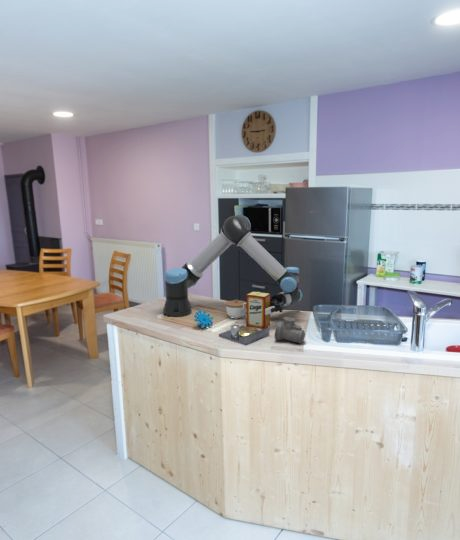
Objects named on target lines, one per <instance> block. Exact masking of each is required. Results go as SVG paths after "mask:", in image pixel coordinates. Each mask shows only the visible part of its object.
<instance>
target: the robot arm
mask: <svg viewBox="0 0 460 540" xmlns="http://www.w3.org/2000/svg"><path fill="white" fill-rule="evenodd" d="M251 227H252V225H251V222H250V220H249V218H248V217H247V216H245V215H242V214H236V215H231V216H229V217H227V219H225V221H224V223H223V226H222V227H220V233H219V234H217V236H216V237H215V238H214V239H213V240H211V242H210V243H209V244H208V245H207V246H206V247H205V248H203V250H202V251H201V252H200V253H199V254H197V256H196V257H194V259H192V260H189V261H186V262H185V264H183V266H181V267H175V268H171V269H167V271H166V272H165V276H164V281H165V282H164V283H165V302H164V306H163V310H162V311H163V312H162V313H163V315H164V314H166V315H169V316H168V317H171V316H179V317H184V316H183V315H186V316H188V315H187V314H189V315H191V314H192V313H193V311H192V306H191V304H190V300H189V291H188V289H190V288H191V287H194V286H195V285H196V284H197V283H198V281H199V280H200V279H201V278H202V277H203V272H205V271H206V269H208V268H209V267H210V266H211V265H212V264H213V263H214V262H215V261H216V260H217V259H218V258H219V257H220V256H221V255H223V253H224V252H225V251H226V250H228V249H229V247H230V246H232V245H235V246H236V247H240V248H241V249H242V250H243V251H244V252H245V253H247V254H248V256H250V257H251V259H253V261H255V262H256V263H257V264H258V265H259V266H260V267H261V268H262V269H263V270H264V271H265V272H266V273H267V274H268V275H269V276H270V277H271V278H272V279H273V280H274V281H275V282H276V283H277V284H278V285H279V287H280V289H281V290H282V291H281V292H279V293H275V294H273V295H271V296H270V307H269V308H266V309H265V315H267V314H270V315H271V314H272V313H275V312H279V313H283V311H284V309H285V308H286V307H287V306H291V305H293V304H296V303H299V302H300V301H301V300H302V298H303V292H302V290H301V289H299V288H300V287H299V286H300V269H299V267H297V266H287V267H284V266H283V265H282V264H281V263H280V262H279V261H278V260H277V259H276V258H275V257H273V255H271V253H269V252H268V251H267V249H265V248H264V246H262V244H260V242H258V241H257V240H256V239H255V238H254V237H253V235H252V234H251V233H252V232H251V229H252V228H251ZM243 309H246V303H243ZM190 313H191V314H190ZM166 315H165V316H166Z"/></svg>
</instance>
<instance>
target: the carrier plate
mask: <svg viewBox="0 0 460 540" xmlns="http://www.w3.org/2000/svg"><path fill="white" fill-rule="evenodd" d="M268 336H270V326H268V327H266V328H264V329H259V328H254V327H248V326H246V325H238V324H232V325H230V329H229V330H226V331H224V332H221V333H219V334H218V337H220V338H223V339H227V340H229V341H231V342H232V341H233V342H235V343H238V344H241V345H245V346H247V345H250V344H252V343H254V342H257V341H259V340H261V339H264V338H267V337H268Z"/></svg>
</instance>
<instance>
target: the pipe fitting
mask: <svg viewBox="0 0 460 540" xmlns="http://www.w3.org/2000/svg"><path fill="white" fill-rule="evenodd" d="M295 323H296V319H295V318H292V317H289V316H288V317H287V316H285V317H283V321H281V320H280V321H278V322H277V323H276V327H275V330H274V339H275V340H277V341H282V340H285V341H290V342H292V343H293V342H294V343H295V344H302V343H303V342H304V340H305V337H306V332H305V329H303V328H302V326H301V325H297V324H295Z"/></svg>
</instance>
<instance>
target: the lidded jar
mask: <svg viewBox="0 0 460 540" xmlns="http://www.w3.org/2000/svg"><path fill="white" fill-rule="evenodd" d="M243 303H246V301H244V300H239V299H233V300H227V301H226V302H225V311H226V313H227V316H229V318H230V317H233V318H240V319H242V318H243V317H244V316H245V314H246V309H243Z"/></svg>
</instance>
